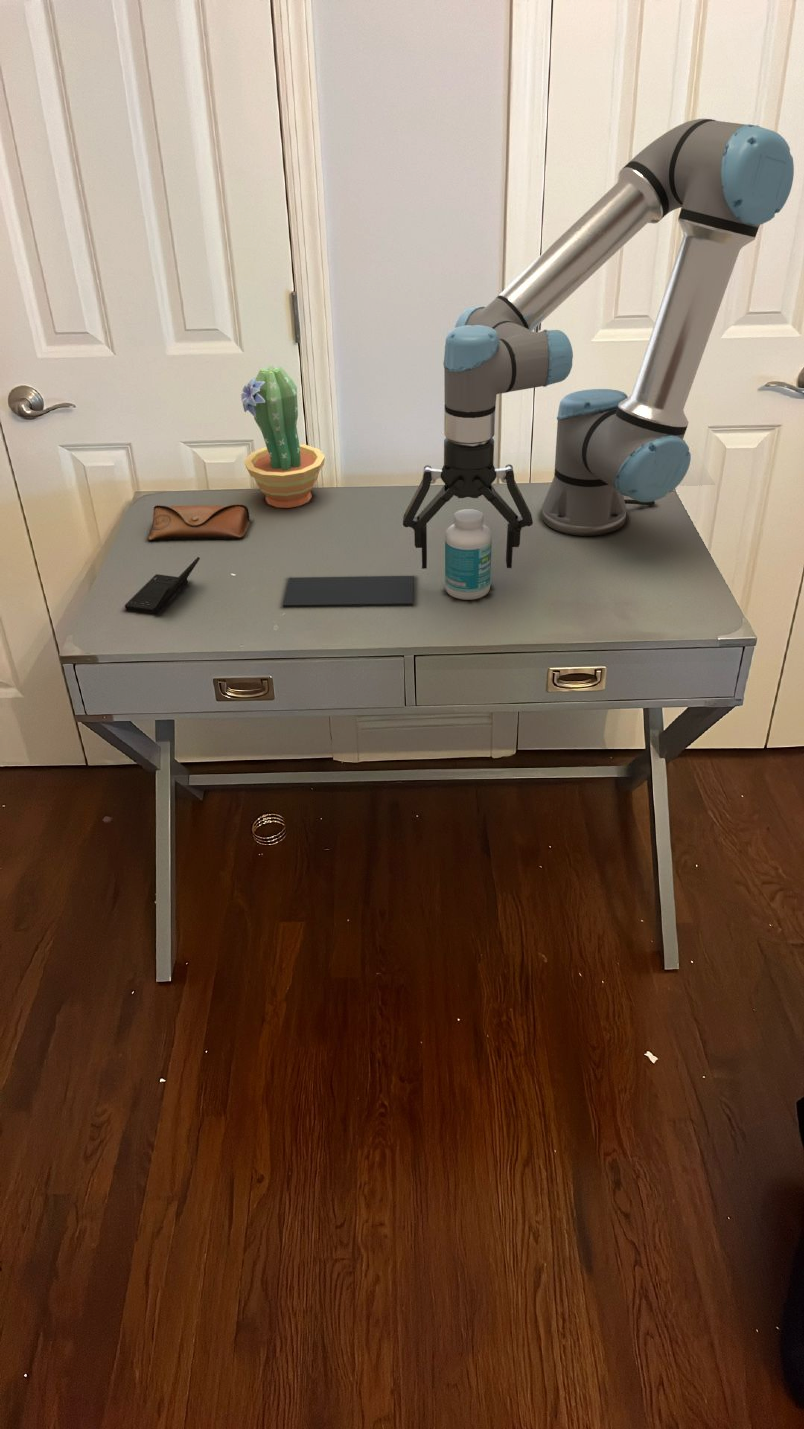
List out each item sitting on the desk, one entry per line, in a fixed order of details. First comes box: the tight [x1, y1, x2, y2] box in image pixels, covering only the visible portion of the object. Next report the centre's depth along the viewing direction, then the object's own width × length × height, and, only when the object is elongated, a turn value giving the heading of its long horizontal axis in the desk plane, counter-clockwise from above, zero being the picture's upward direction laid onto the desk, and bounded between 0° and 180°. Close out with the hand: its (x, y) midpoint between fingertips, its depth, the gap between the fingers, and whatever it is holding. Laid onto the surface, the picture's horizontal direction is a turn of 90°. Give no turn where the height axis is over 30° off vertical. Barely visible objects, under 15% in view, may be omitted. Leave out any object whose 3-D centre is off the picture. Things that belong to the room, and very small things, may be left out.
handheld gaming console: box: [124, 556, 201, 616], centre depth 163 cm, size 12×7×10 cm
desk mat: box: [282, 575, 415, 608], centre depth 164 cm, size 21×9×1 cm, turn 88°
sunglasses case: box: [148, 503, 251, 541], centre depth 183 cm, size 18×7×7 cm, turn 90°
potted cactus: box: [240, 365, 326, 509], centre depth 187 cm, size 15×15×25 cm
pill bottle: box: [444, 508, 493, 601], centre depth 160 cm, size 8×7×14 cm
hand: (466, 564), depth 161 cm, fingers open, 13 cm apart
